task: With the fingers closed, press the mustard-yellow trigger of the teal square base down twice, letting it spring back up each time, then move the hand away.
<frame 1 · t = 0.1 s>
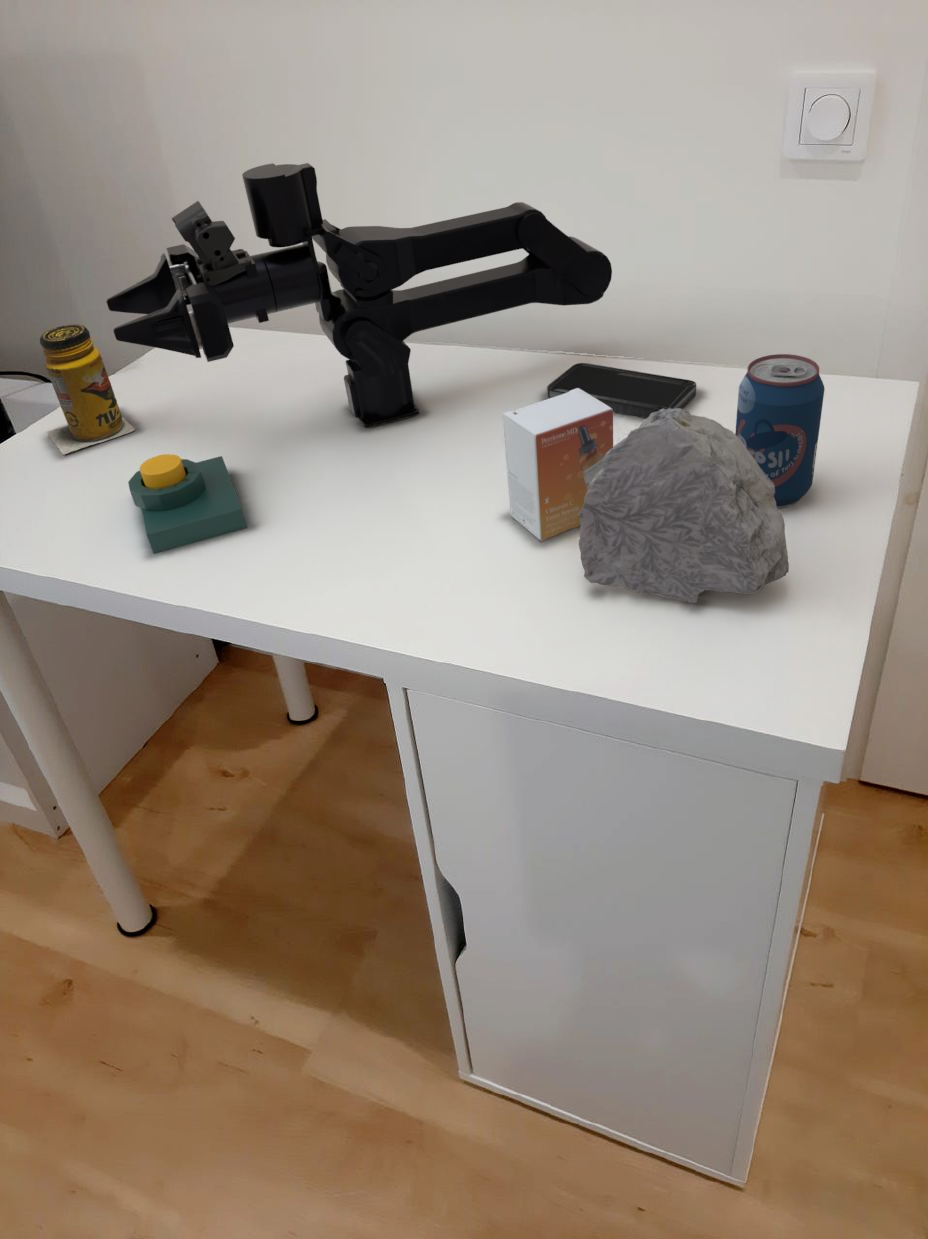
hand: (111, 319, 94), 17 cm above the table, tool horizontal, fingers open, 9 cm apart
decorative rock: (679, 583, 79), on the table
phone: (620, 396, 107), on the table
small box: (562, 517, 89), on the table
trigger: (162, 472, 94), point 4 cm above the table, slide at 0.1 cm
soda can: (770, 494, 88), on the table
condiment: (91, 434, 114), on the table
teal square base: (192, 512, 97), on the table
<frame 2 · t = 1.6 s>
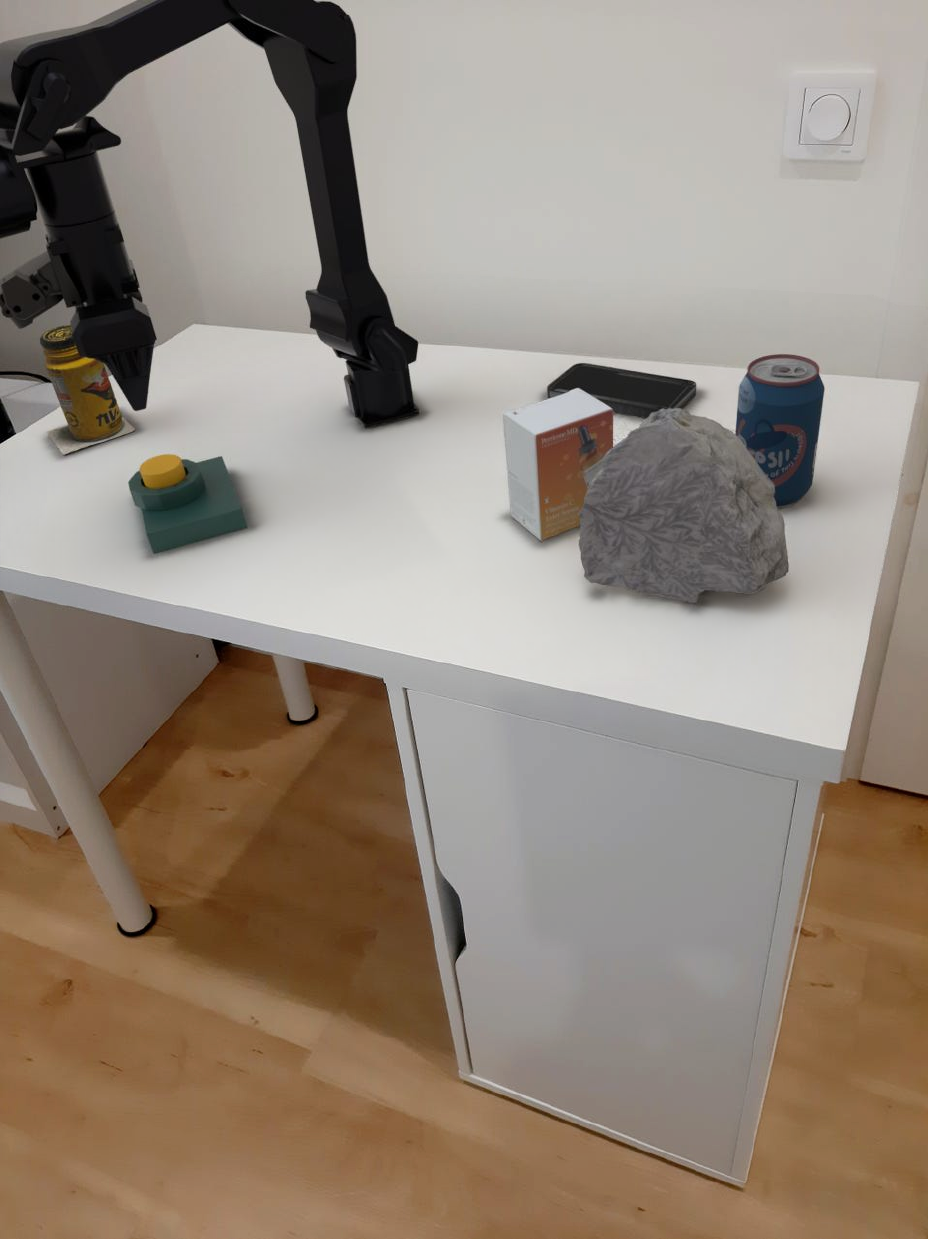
hand: (136, 393, 89), 13 cm above the table, tool pointing down, fingers open, 8 cm apart
nothing on the table moved.
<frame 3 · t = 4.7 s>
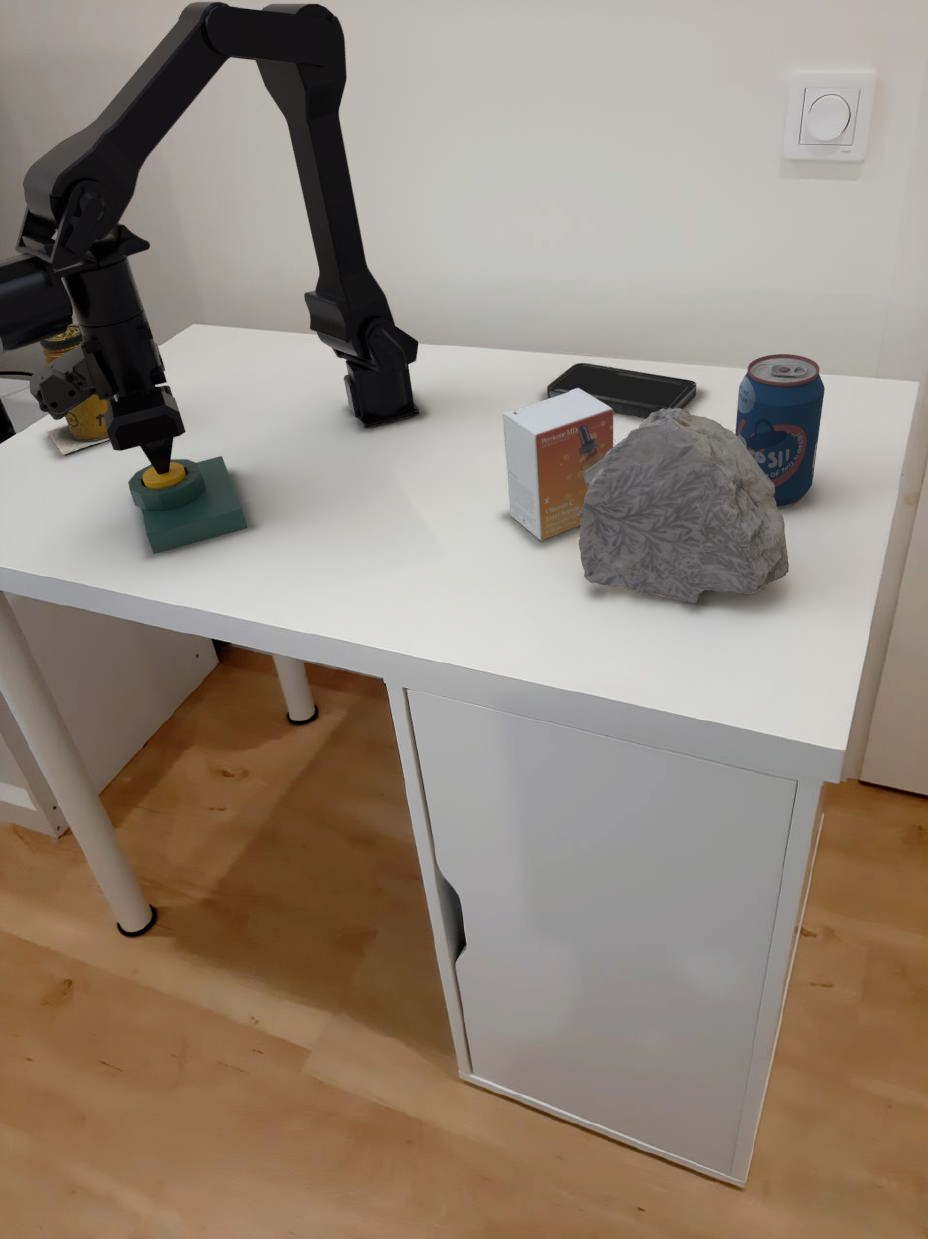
hand: (163, 472, 94), 4 cm above the table, tool pointing down, fingers closed, pressing on trigger
trigger: (165, 480, 95), point 4 cm above the table, slide at -0.8 cm, touching gripper
everything else where it was.
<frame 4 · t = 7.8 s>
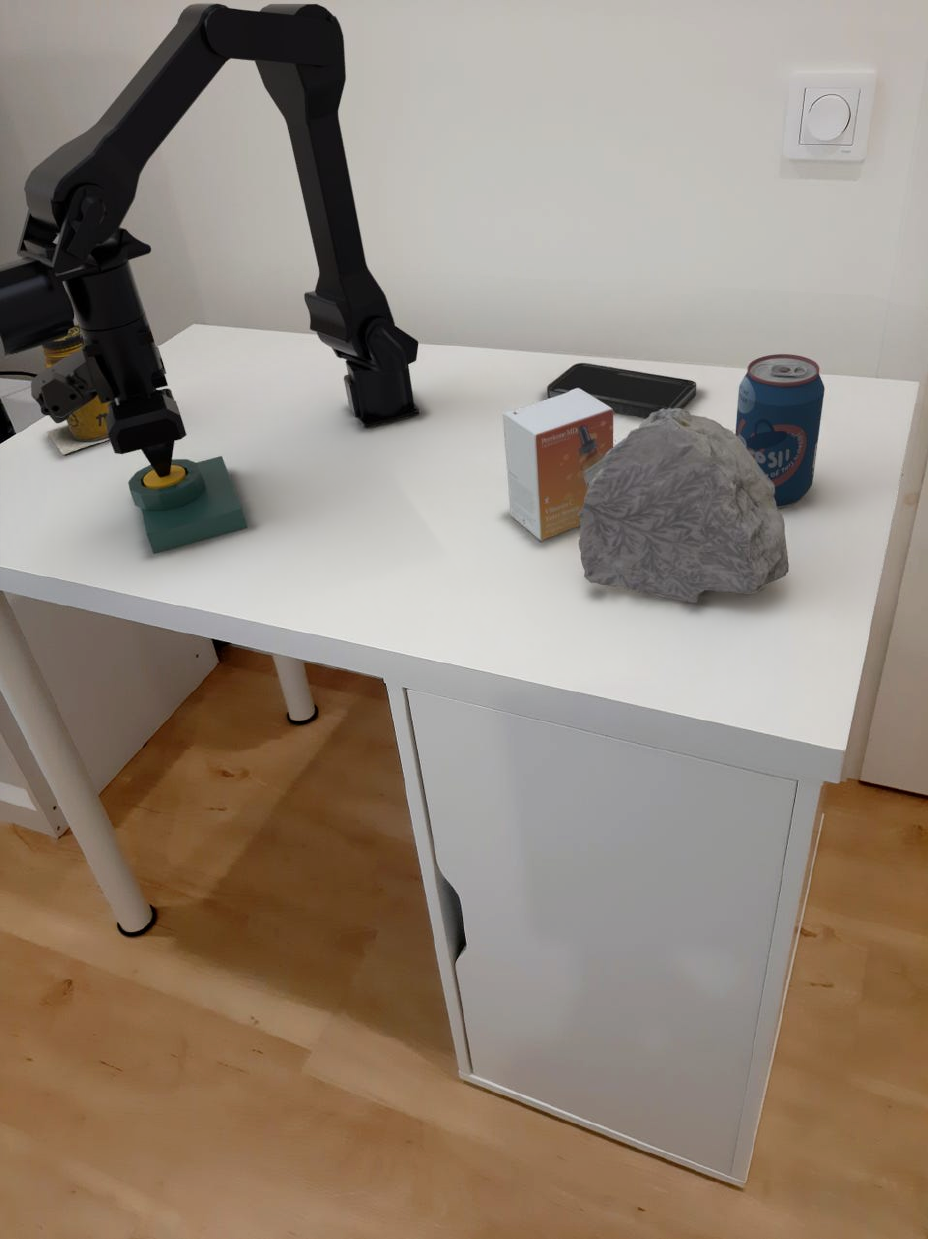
hand: (164, 474, 95), 4 cm above the table, tool pointing down, fingers closed, pressing on trigger
trigger: (166, 482, 95), point 3 cm above the table, slide at -1.1 cm, touching gripper
everything else where it was.
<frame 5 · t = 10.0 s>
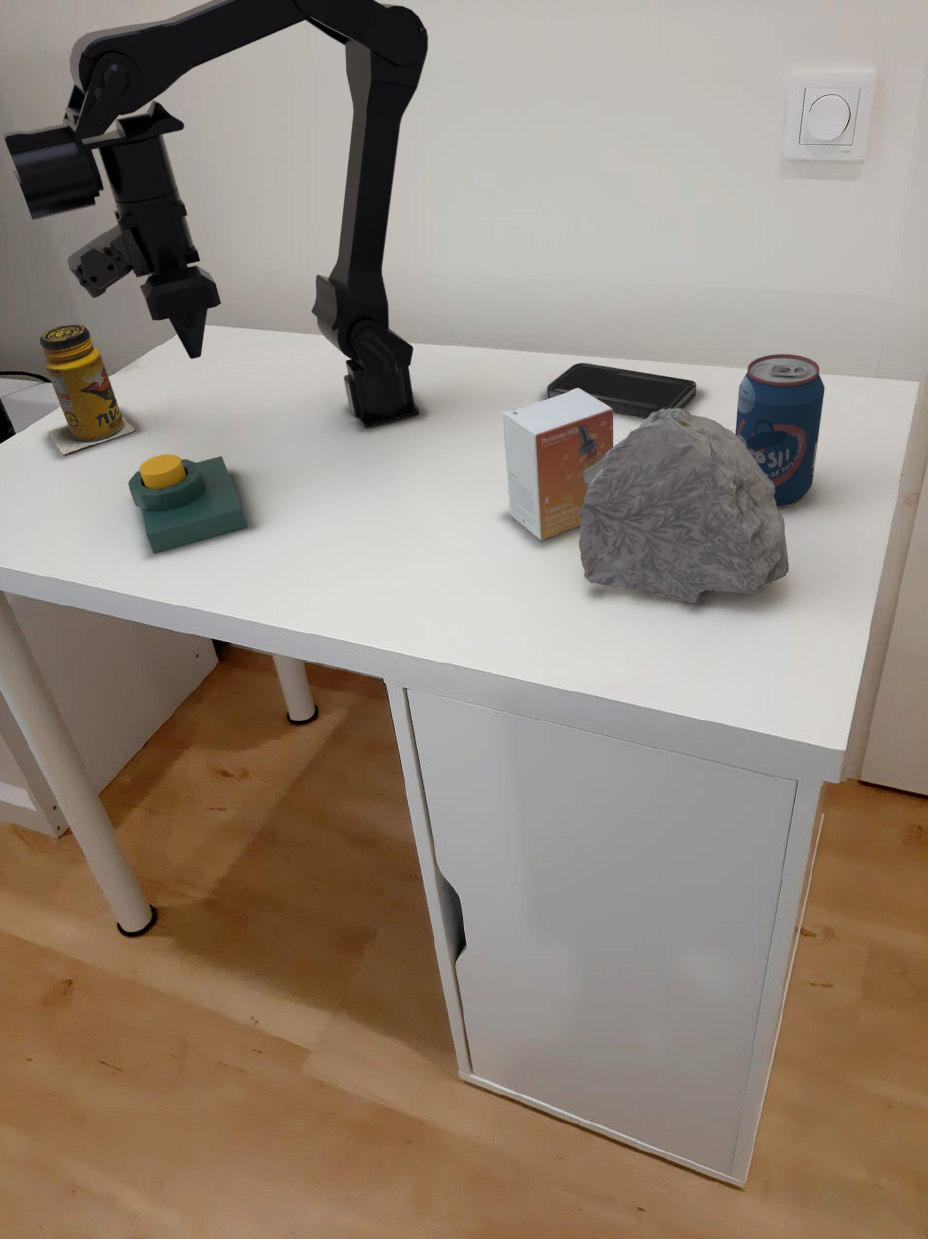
hand: (195, 356, 97), 12 cm above the table, tool pointing down, fingers closed
trigger: (162, 472, 94), point 4 cm above the table, slide at 0.1 cm
everything else where it was.
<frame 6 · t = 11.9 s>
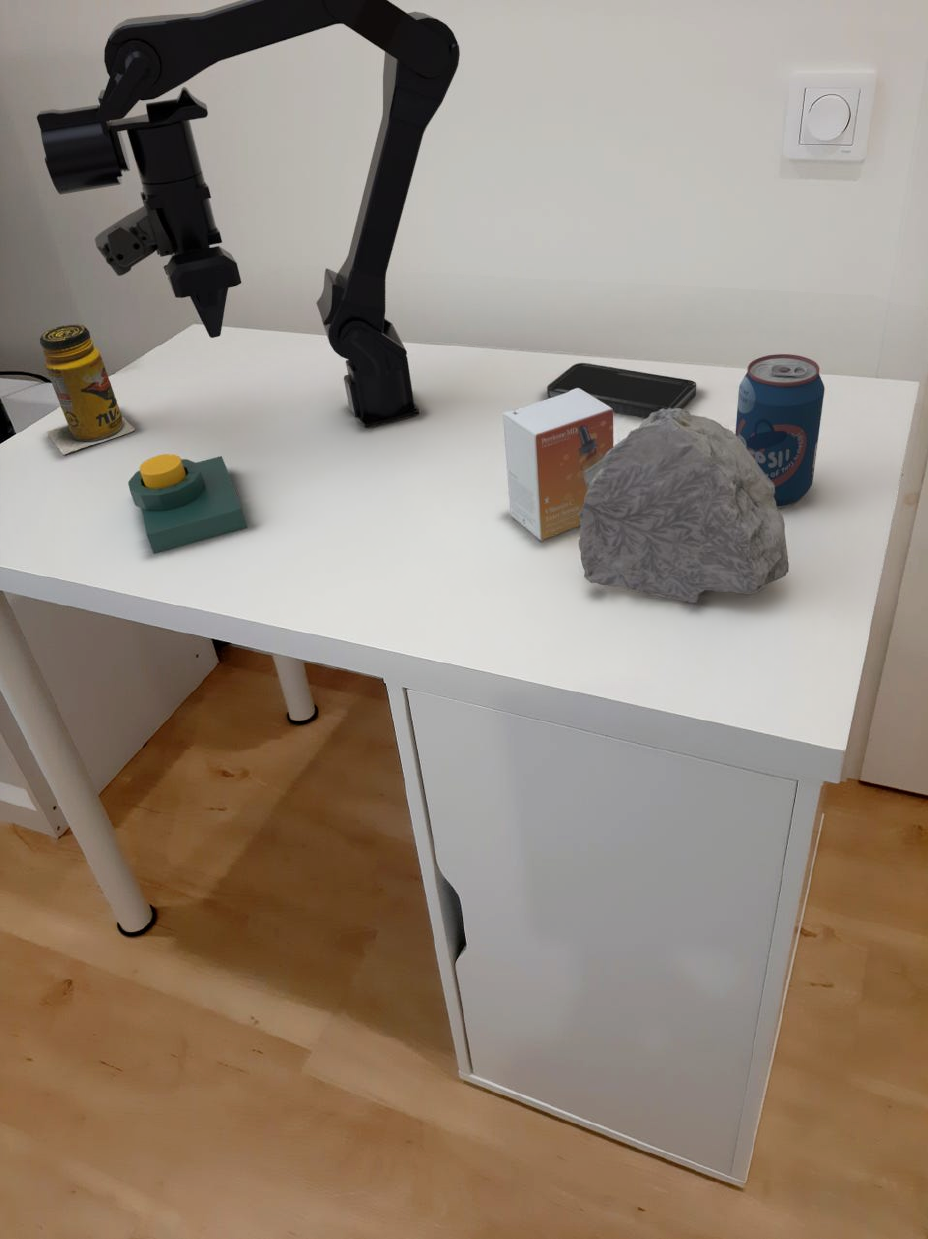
hand: (214, 336, 101), 12 cm above the table, tool pointing down, fingers closed
nothing on the table moved.
at the end: trigger pushed in 1.1 cm at the most during the clip, back to where it started at the end; trigger slide at 0.1 cm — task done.
